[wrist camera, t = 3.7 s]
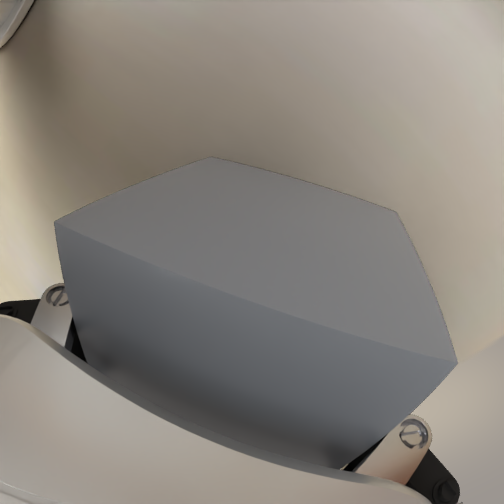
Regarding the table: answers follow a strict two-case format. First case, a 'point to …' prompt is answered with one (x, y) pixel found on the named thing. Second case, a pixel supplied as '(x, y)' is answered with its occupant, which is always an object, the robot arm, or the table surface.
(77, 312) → the grey cube
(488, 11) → the table surface
